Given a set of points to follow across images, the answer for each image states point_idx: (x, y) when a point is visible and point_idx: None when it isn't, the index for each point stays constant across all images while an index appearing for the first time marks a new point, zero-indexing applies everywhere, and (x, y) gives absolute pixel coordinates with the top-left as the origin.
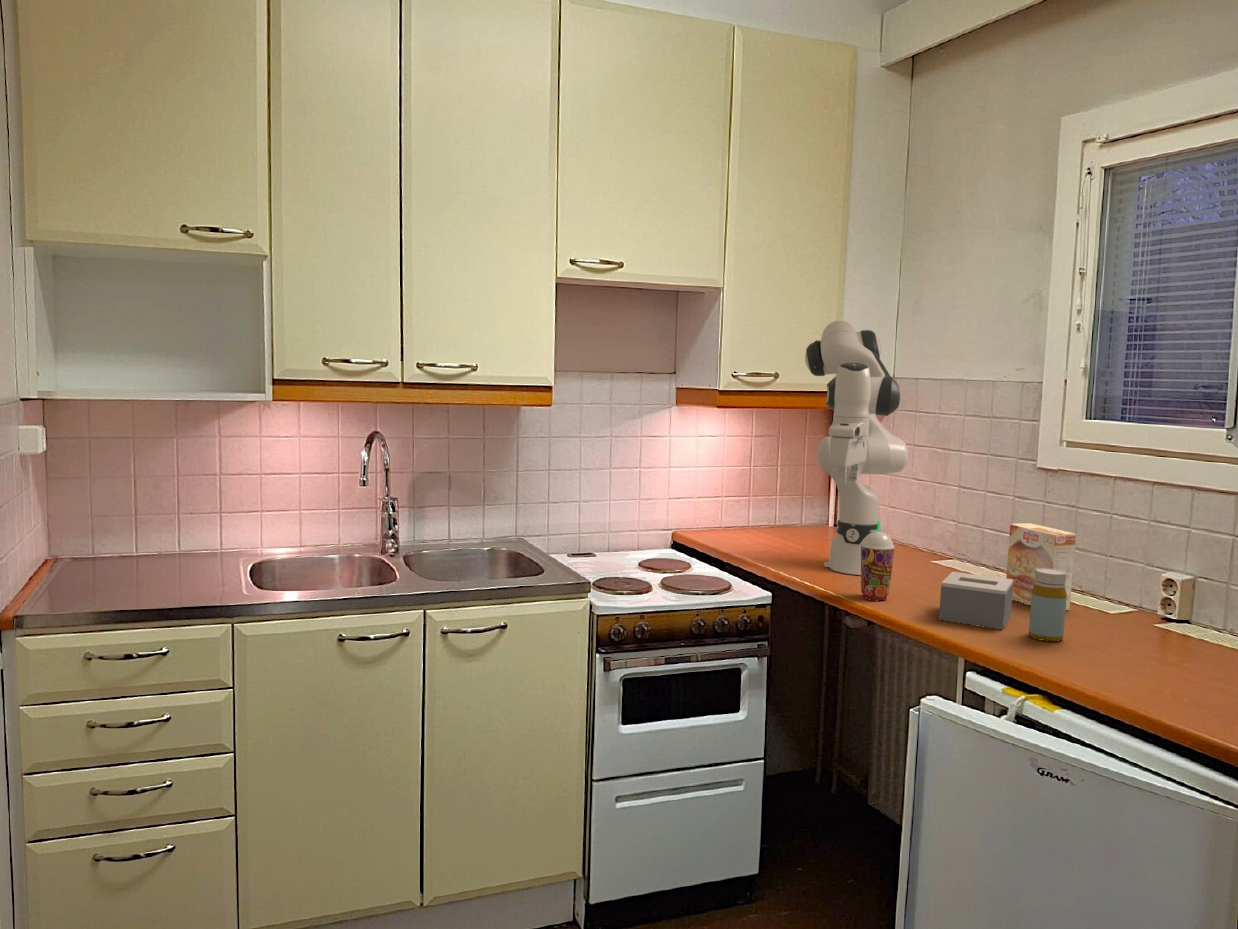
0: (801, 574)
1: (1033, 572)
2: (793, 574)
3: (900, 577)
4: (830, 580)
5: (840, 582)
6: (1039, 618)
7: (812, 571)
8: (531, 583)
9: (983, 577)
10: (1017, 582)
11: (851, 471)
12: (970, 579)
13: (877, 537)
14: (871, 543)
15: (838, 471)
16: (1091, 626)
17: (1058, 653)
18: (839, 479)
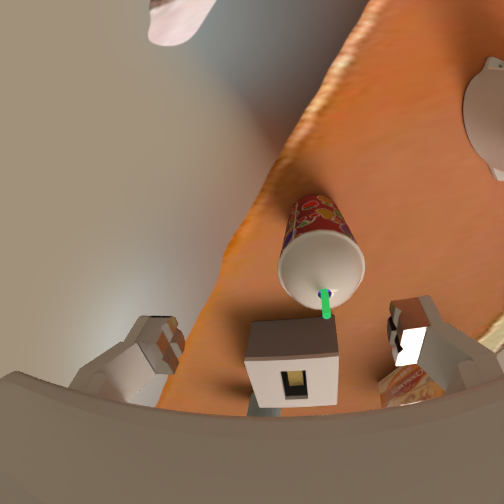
0: (403, 30)
1: (402, 402)
2: (391, 17)
3: (489, 200)
4: (399, 94)
5: (397, 117)
6: (248, 409)
7: (442, 43)
8: None
9: (324, 386)
10: (418, 373)
11: (440, 343)
12: (306, 377)
13: (294, 293)
14: (283, 273)
15: (87, 373)
16: (340, 408)
17: (223, 400)
18: (131, 338)
